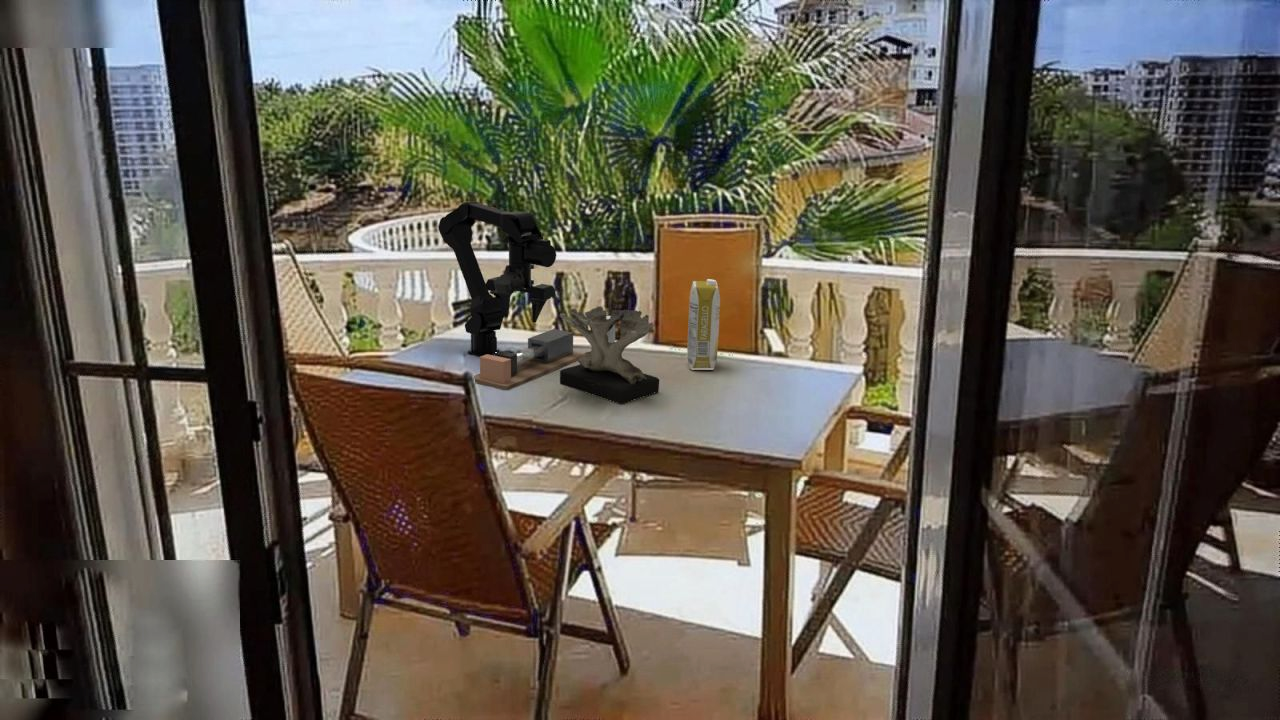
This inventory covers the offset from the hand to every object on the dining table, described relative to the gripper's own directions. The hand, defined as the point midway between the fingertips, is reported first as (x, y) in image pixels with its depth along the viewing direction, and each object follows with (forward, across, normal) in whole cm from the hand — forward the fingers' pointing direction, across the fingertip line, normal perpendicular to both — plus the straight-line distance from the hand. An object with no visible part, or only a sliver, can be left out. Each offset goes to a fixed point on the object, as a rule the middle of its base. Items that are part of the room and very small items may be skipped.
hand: (520, 319), depth 269 cm
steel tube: (+11, +5, -6) cm, 13 cm away
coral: (+12, +31, -7) cm, 34 cm away
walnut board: (+12, +5, -3) cm, 13 cm away
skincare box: (+12, +16, +16) cm, 26 cm away
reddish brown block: (+11, +5, -17) cm, 21 cm away
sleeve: (+12, +5, +7) cm, 15 cm away
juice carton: (+12, +41, +26) cm, 50 cm away
